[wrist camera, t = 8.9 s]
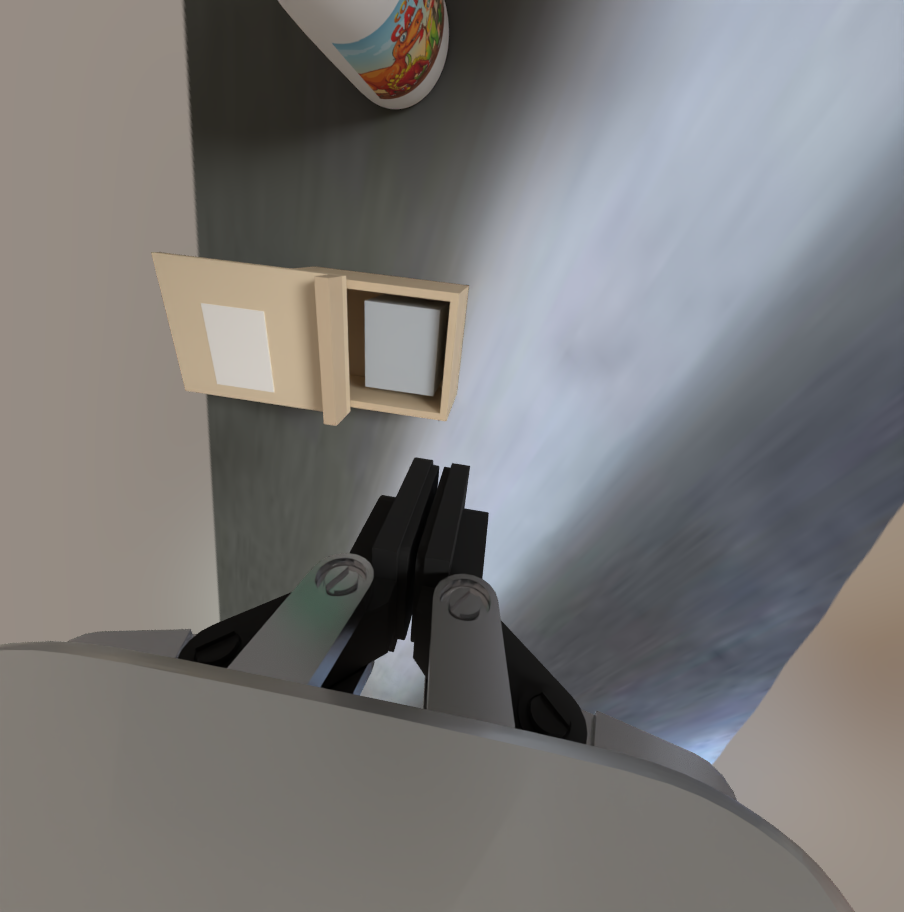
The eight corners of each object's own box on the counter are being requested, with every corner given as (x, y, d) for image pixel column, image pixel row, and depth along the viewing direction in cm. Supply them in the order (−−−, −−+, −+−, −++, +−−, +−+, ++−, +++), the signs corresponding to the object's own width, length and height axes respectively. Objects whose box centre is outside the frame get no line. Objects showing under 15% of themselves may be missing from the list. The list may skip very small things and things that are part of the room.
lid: (346, 275, 28) (328, 278, 25) (350, 411, 33) (336, 425, 30) (159, 252, 29) (124, 252, 26) (192, 387, 34) (165, 399, 31)
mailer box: (468, 285, 34) (459, 293, 27) (456, 393, 38) (446, 421, 32) (315, 266, 35) (273, 270, 28) (322, 374, 39) (287, 397, 33)
